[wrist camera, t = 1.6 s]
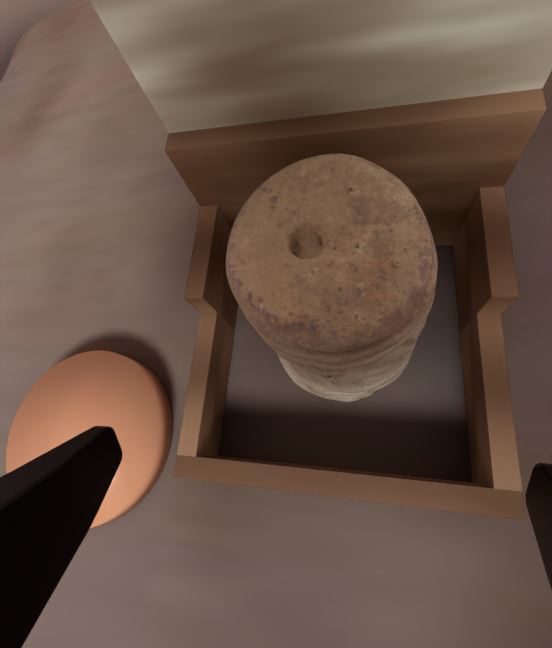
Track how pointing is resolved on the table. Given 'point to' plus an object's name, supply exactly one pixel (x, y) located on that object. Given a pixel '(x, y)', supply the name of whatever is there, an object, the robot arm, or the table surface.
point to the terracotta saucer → (99, 421)
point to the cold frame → (362, 141)
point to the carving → (334, 273)
